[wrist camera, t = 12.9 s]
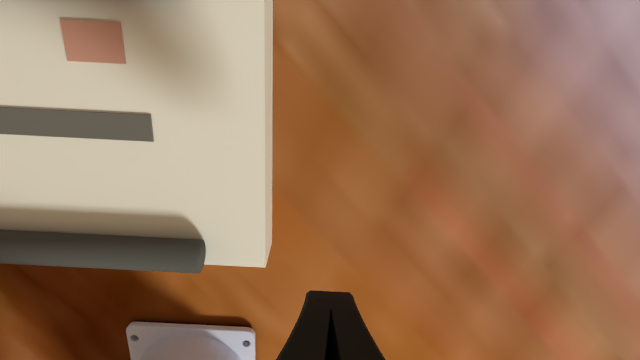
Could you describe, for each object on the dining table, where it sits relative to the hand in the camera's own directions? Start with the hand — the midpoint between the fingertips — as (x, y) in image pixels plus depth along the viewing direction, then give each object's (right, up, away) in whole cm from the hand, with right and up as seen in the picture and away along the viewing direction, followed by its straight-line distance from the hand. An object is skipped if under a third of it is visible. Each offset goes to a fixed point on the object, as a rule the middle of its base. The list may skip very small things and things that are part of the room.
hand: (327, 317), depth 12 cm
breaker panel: (-16, +8, +7) cm, 19 cm away
